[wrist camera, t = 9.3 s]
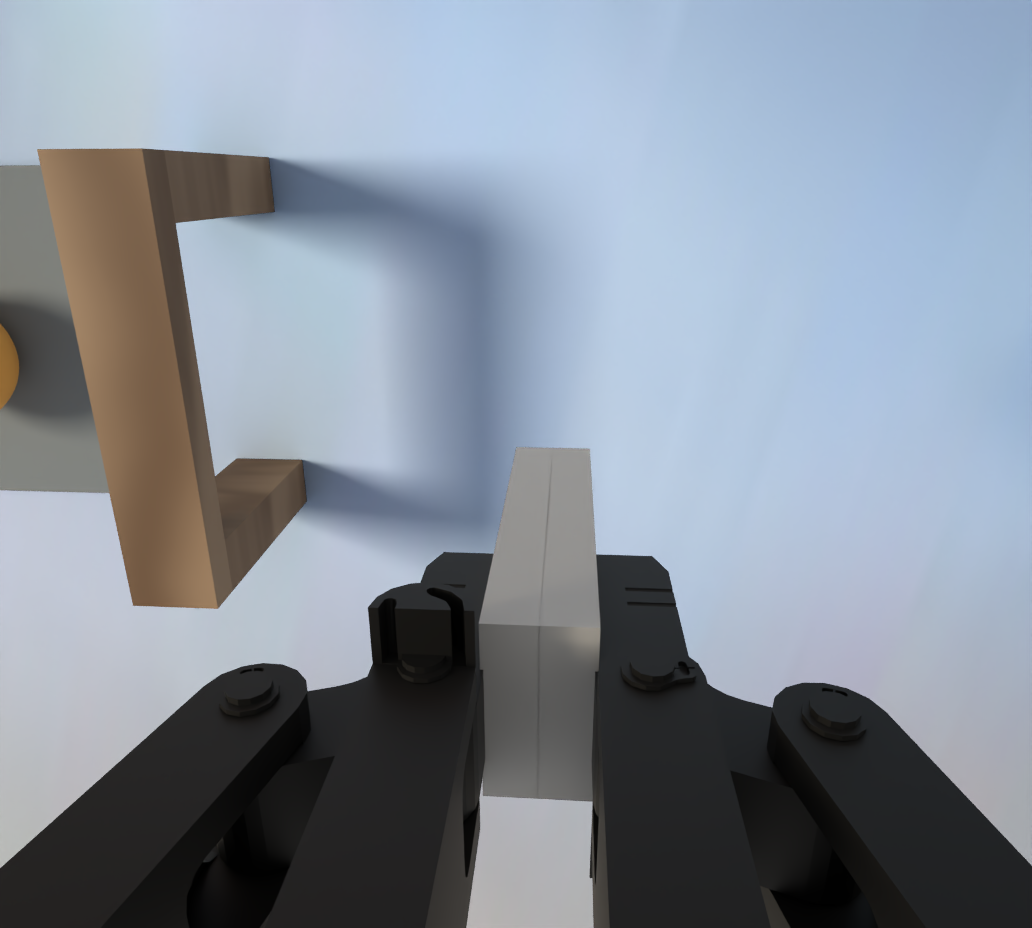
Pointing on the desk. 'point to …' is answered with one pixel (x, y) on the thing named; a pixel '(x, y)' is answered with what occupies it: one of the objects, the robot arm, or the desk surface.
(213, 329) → the desk surface
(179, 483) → the bridge
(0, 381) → the ball
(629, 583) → the robot arm
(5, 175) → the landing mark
